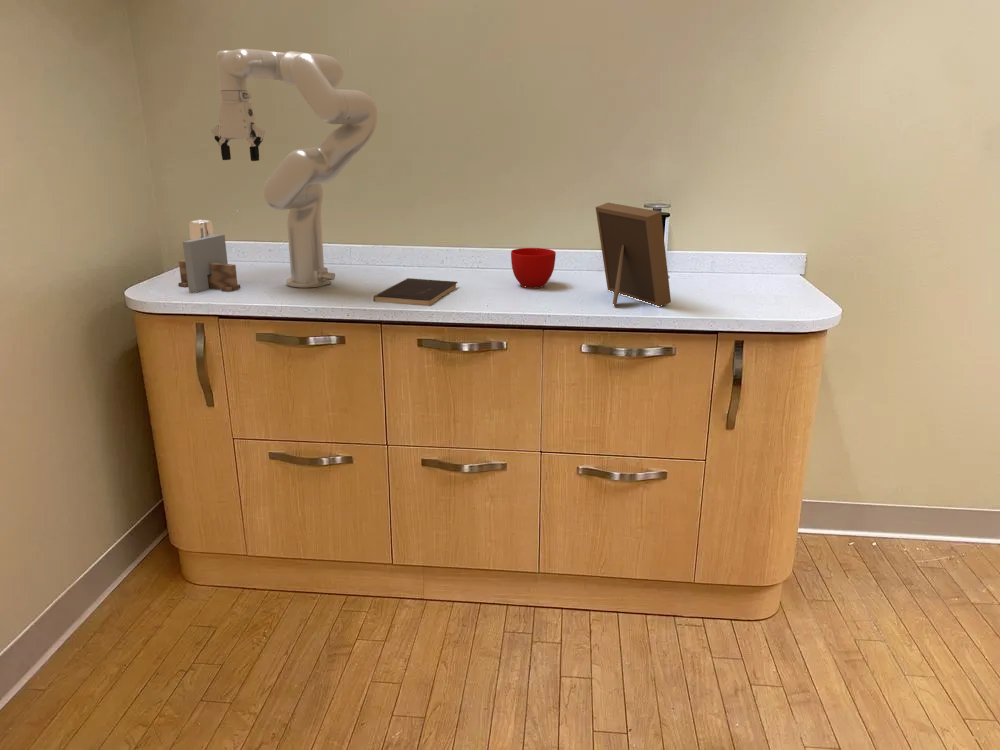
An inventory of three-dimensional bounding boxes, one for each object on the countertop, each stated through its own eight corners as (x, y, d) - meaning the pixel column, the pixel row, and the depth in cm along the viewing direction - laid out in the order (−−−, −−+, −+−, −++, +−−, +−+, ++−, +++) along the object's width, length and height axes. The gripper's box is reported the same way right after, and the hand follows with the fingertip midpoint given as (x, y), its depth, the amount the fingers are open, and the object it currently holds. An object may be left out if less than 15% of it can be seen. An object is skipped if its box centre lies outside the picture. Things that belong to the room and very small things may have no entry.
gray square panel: (229, 282, 223) (224, 234, 218) (196, 292, 211) (189, 242, 206) (223, 282, 224) (217, 234, 219) (189, 292, 211) (182, 241, 207)
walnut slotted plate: (241, 288, 217) (238, 263, 214) (229, 291, 212) (227, 266, 210) (190, 282, 222) (187, 259, 220) (178, 286, 218) (174, 262, 216)
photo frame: (619, 289, 220) (624, 201, 211) (670, 305, 202) (678, 210, 194) (577, 295, 213) (580, 204, 205) (626, 312, 195) (632, 214, 187)
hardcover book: (457, 289, 220) (457, 281, 220) (429, 308, 200) (429, 299, 199) (406, 285, 224) (405, 278, 224) (373, 303, 204) (373, 295, 203)
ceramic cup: (555, 278, 233) (556, 246, 230) (553, 291, 217) (554, 256, 214) (513, 277, 234) (514, 245, 231) (508, 289, 218) (509, 255, 215)
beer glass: (222, 268, 243) (217, 220, 238) (203, 271, 237) (198, 223, 233) (207, 265, 246) (202, 219, 242) (189, 269, 241) (183, 221, 236)
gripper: (268, 98, 217) (273, 160, 222) (217, 97, 222) (223, 158, 227) (252, 97, 210) (258, 161, 216) (200, 97, 215) (207, 160, 221)
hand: (240, 160), depth 222 cm, fingers open, 9 cm apart
